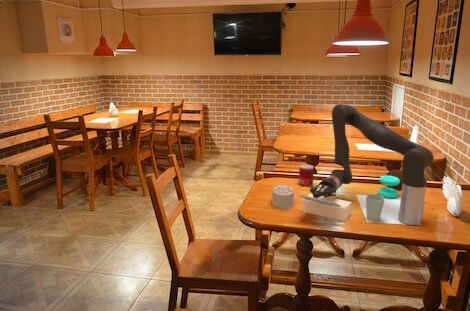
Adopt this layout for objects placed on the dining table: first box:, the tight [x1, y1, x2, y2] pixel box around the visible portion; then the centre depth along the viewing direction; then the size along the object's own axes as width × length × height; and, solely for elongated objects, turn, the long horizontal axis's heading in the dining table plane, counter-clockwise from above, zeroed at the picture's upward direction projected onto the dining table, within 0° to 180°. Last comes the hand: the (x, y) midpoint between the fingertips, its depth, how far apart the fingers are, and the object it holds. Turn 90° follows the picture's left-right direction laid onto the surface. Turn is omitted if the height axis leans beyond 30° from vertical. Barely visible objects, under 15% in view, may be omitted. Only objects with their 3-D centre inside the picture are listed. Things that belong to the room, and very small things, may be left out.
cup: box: [365, 193, 386, 223], centre depth 164 cm, size 8×8×10 cm
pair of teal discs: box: [377, 175, 400, 199], centre depth 193 cm, size 10×10×10 cm
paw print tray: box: [271, 184, 295, 210], centre depth 182 cm, size 10×13×9 cm
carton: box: [301, 193, 352, 222], centre depth 171 cm, size 20×10×6 cm, turn 56°
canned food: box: [298, 164, 315, 188], centre depth 210 cm, size 8×8×11 cm
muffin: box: [385, 169, 403, 191], centre depth 205 cm, size 12×11×10 cm
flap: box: [296, 193, 340, 207], centre depth 161 cm, size 16×1×12 cm
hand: (315, 196), depth 157 cm, fingers closed
